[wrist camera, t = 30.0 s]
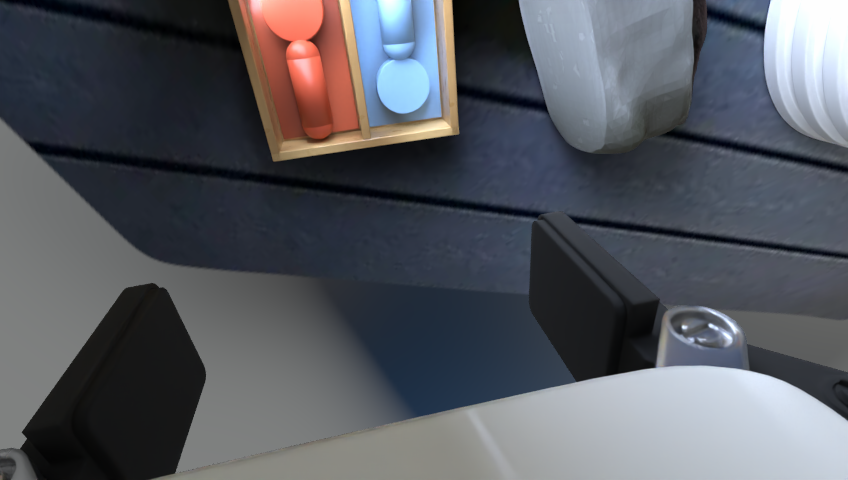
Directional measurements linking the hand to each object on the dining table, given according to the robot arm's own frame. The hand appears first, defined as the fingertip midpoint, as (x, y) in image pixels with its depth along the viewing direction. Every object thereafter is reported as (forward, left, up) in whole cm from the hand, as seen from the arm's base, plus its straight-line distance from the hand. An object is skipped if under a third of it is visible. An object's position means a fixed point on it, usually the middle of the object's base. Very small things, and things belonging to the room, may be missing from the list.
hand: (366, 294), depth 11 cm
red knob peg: (-2, +3, -24) cm, 24 cm away
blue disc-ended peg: (+4, +4, -24) cm, 24 cm away
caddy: (+1, +4, -24) cm, 25 cm away
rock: (+20, +4, -24) cm, 32 cm away
